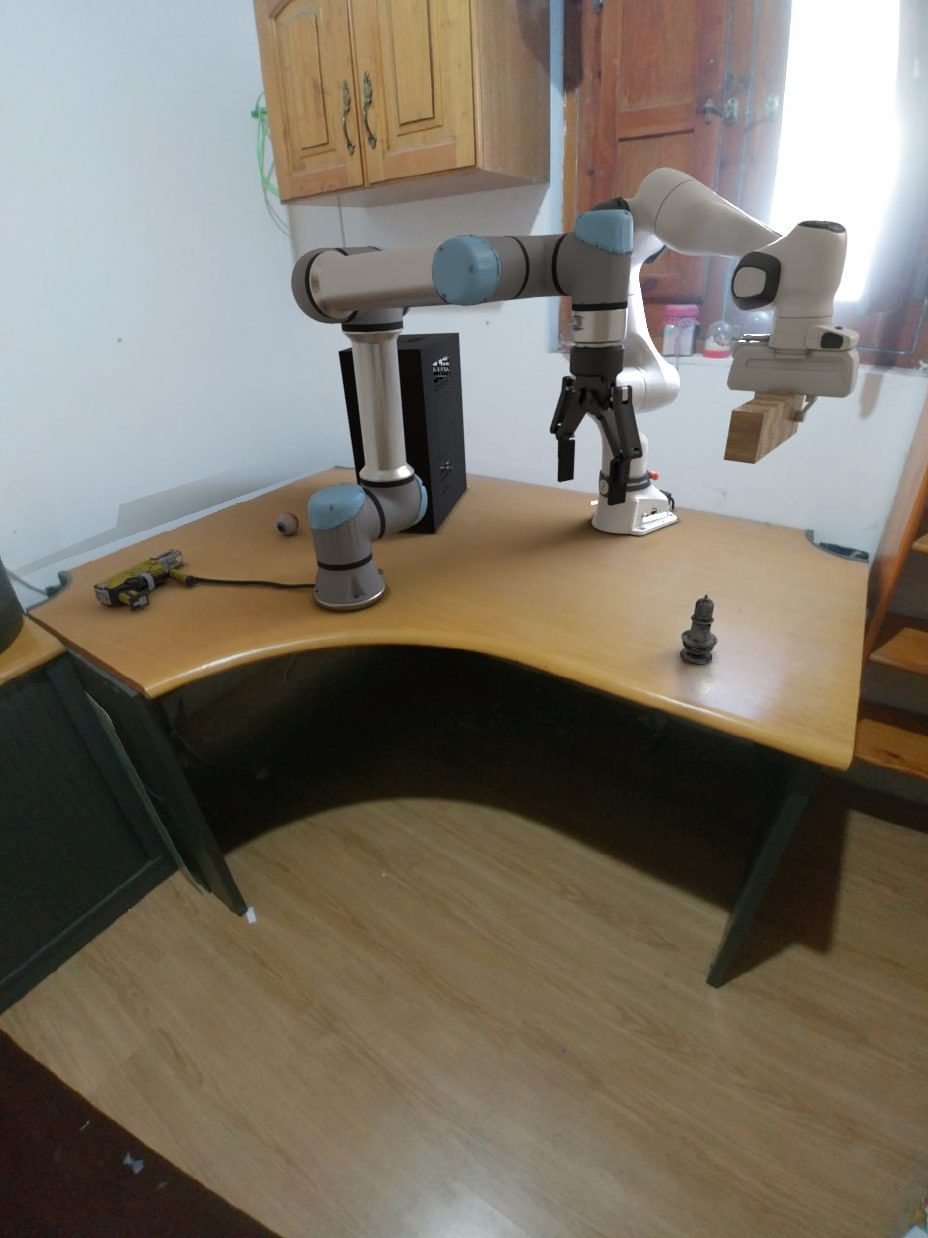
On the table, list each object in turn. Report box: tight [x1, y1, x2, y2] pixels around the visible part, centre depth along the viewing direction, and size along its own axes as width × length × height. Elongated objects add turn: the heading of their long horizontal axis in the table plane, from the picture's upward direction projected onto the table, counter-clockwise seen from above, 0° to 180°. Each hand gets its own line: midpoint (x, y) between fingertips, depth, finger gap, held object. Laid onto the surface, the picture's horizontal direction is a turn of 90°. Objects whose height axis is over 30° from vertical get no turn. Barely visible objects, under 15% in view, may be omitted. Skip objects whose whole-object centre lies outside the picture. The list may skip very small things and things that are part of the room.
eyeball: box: [275, 511, 300, 536], centre depth 163 cm, size 6×6×6 cm
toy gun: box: [93, 548, 197, 612], centre depth 139 cm, size 5×24×15 cm
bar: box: [723, 390, 806, 465], centre depth 102 cm, size 23×5×8 cm, turn 140°
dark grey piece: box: [679, 593, 718, 665], centre depth 102 cm, size 6×6×12 cm
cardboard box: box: [338, 332, 468, 534], centre depth 167 cm, size 38×20×45 cm, turn 167°
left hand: (589, 491), depth 95 cm, fingers open, 13 cm apart
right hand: (780, 419), depth 108 cm, fingers closed on bar, 5 cm apart
